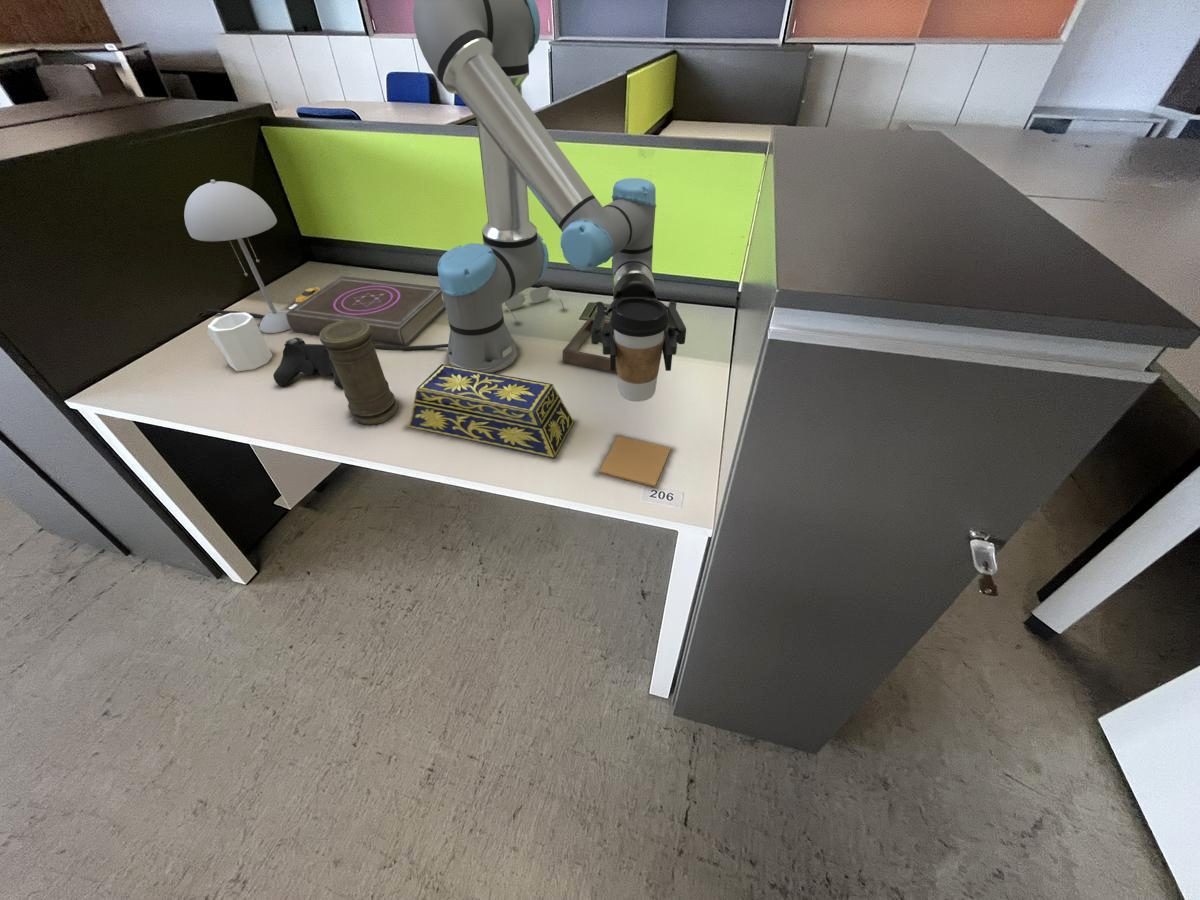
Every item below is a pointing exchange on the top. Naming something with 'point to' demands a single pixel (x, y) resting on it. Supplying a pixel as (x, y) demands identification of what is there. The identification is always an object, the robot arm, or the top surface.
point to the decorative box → (492, 410)
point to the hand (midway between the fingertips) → (640, 362)
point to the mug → (239, 341)
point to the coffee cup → (638, 345)
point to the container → (359, 371)
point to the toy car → (305, 296)
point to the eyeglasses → (535, 296)
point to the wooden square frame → (585, 358)
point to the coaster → (635, 461)
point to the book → (370, 308)
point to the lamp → (233, 228)
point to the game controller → (304, 362)
